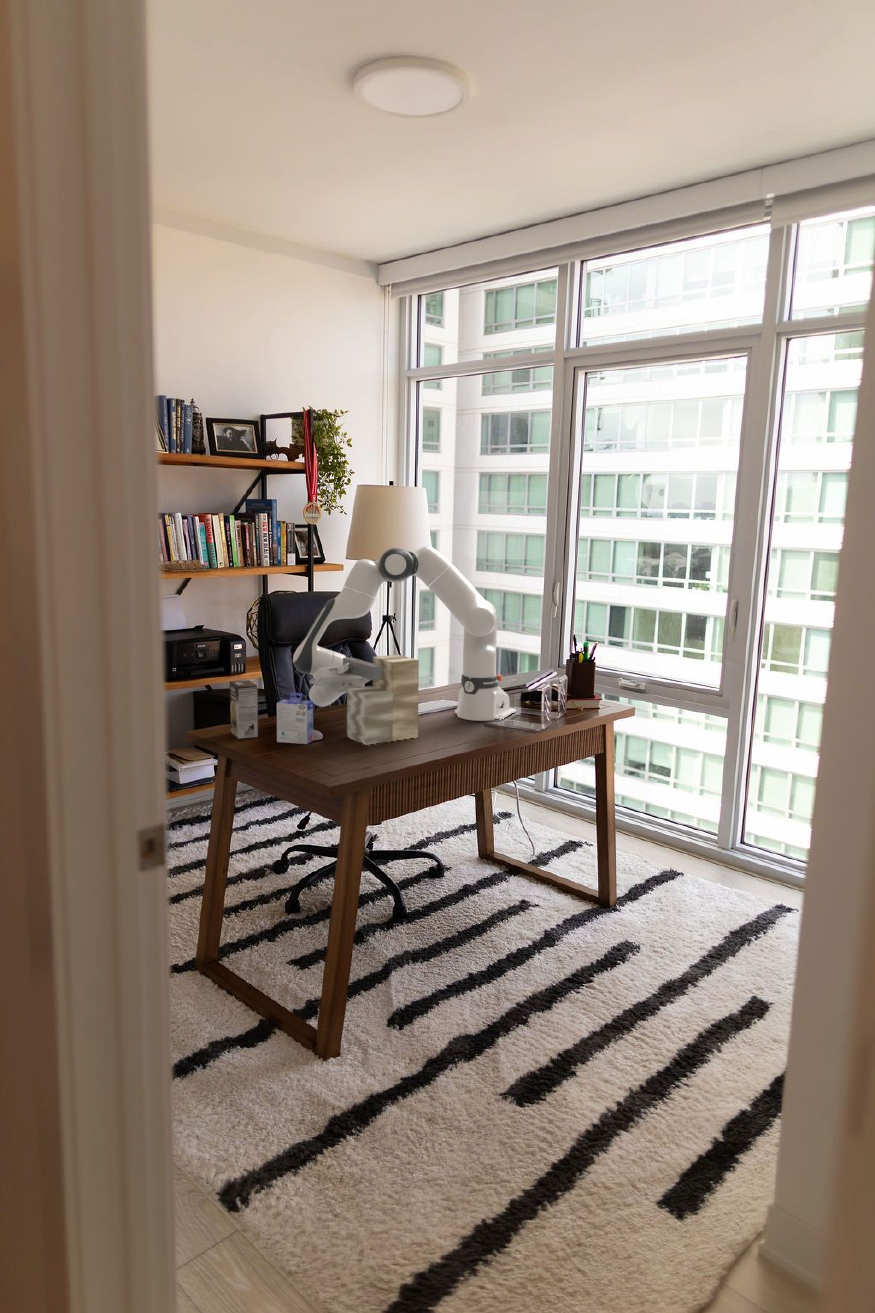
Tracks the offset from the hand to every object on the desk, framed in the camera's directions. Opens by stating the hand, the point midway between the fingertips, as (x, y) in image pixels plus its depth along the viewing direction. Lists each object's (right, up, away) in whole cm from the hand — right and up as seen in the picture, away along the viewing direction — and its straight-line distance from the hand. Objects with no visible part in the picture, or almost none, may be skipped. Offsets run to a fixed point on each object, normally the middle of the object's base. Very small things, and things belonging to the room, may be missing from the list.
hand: (355, 665), depth 274 cm
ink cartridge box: (-17, -23, -8) cm, 30 cm away
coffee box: (-34, -22, 0) cm, 40 cm away
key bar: (+2, -3, -3) cm, 5 cm away
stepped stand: (+8, -22, -2) cm, 24 cm away
